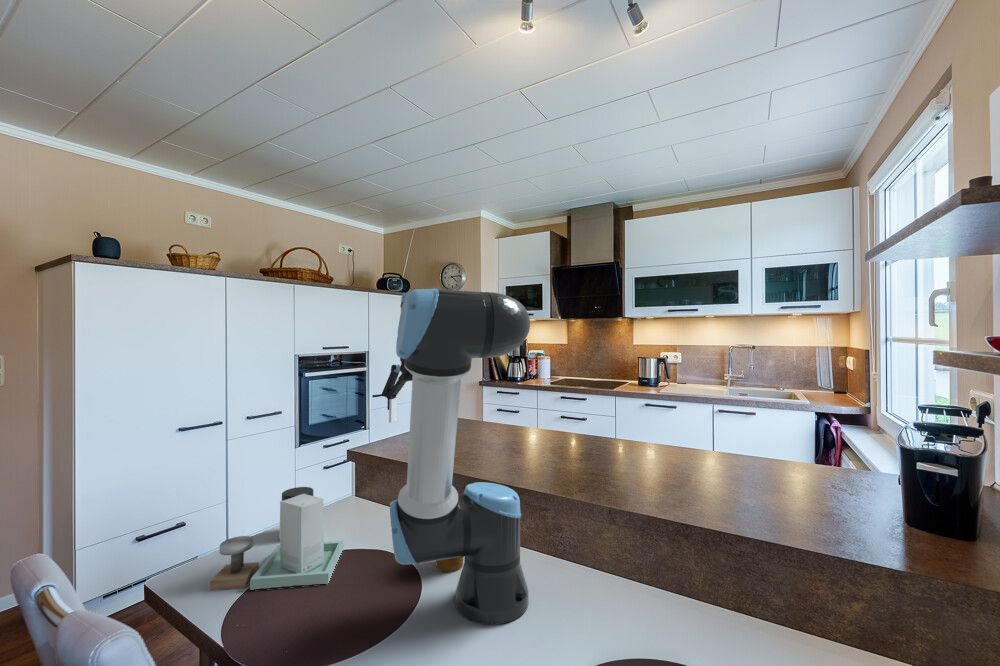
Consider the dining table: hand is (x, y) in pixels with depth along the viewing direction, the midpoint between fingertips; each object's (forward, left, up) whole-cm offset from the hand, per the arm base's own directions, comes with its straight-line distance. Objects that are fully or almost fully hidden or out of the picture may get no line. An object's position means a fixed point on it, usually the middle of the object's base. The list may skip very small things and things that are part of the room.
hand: (412, 423), depth 115 cm
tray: (-12, +25, -32) cm, 42 cm away
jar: (+8, +32, -32) cm, 46 cm away
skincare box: (-12, +25, -31) cm, 42 cm away
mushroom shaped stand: (-15, +38, -32) cm, 52 cm away
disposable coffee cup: (-16, -10, -32) cm, 37 cm away
